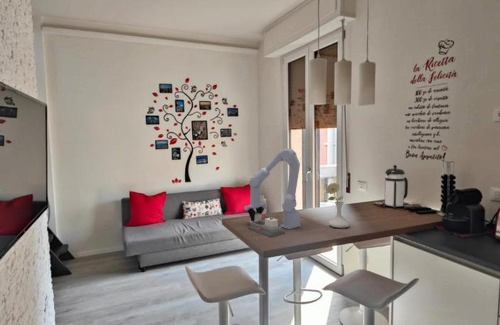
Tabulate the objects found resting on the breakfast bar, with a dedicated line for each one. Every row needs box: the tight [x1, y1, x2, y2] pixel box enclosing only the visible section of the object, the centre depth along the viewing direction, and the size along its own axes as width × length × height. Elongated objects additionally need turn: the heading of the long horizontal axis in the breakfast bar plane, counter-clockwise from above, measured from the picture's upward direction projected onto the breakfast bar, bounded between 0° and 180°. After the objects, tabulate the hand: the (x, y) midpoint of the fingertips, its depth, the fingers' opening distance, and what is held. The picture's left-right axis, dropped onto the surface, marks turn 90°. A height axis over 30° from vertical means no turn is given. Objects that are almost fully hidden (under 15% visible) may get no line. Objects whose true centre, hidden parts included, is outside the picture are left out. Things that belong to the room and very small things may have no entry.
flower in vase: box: [325, 182, 350, 229], centre depth 182 cm, size 13×11×25 cm
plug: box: [249, 212, 263, 223], centre depth 190 cm, size 4×6×7 cm, turn 38°
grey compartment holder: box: [247, 216, 286, 238], centre depth 175 cm, size 10×19×8 cm, turn 38°
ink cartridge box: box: [254, 194, 268, 220], centre depth 204 cm, size 9×5×15 cm, turn 68°
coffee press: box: [382, 164, 409, 210], centre depth 229 cm, size 17×16×30 cm
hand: (255, 220), depth 190 cm, fingers closed on plug, 4 cm apart
